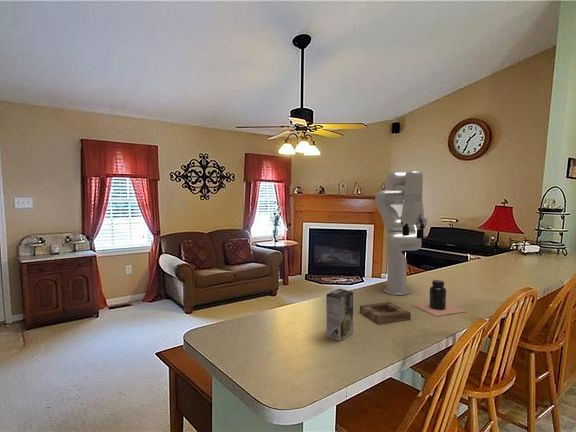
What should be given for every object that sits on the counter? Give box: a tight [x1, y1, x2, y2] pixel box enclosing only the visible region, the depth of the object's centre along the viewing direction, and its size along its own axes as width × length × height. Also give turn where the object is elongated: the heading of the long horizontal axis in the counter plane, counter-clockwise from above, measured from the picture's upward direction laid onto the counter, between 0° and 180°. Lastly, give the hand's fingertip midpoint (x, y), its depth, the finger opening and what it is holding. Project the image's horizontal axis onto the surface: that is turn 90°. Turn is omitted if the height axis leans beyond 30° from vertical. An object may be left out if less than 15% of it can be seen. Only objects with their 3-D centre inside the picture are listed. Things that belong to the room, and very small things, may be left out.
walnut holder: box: [359, 301, 412, 325], centre depth 149 cm, size 15×15×3 cm
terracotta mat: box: [411, 301, 467, 317], centre depth 158 cm, size 16×16×1 cm
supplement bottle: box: [429, 279, 447, 310], centre depth 158 cm, size 7×7×12 cm
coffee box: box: [326, 288, 354, 342], centre depth 129 cm, size 9×6×16 cm
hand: (412, 236), depth 158 cm, fingers open, 9 cm apart
